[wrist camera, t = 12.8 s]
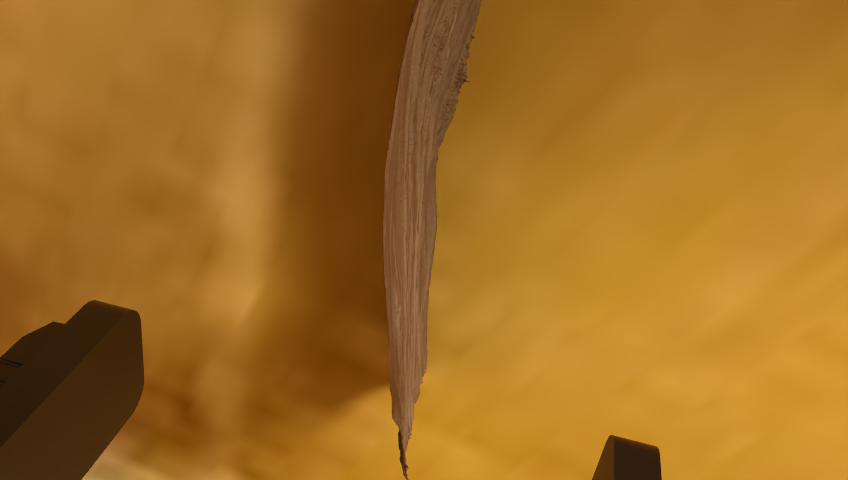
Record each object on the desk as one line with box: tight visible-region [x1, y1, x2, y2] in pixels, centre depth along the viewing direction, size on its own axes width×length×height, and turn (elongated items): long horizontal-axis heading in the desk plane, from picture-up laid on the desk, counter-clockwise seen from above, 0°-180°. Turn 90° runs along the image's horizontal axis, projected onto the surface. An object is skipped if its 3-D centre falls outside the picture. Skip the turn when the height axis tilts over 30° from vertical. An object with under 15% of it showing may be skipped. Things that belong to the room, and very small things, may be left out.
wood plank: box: [383, 0, 481, 480], centre depth 19 cm, size 15×2×5 cm, turn 176°
